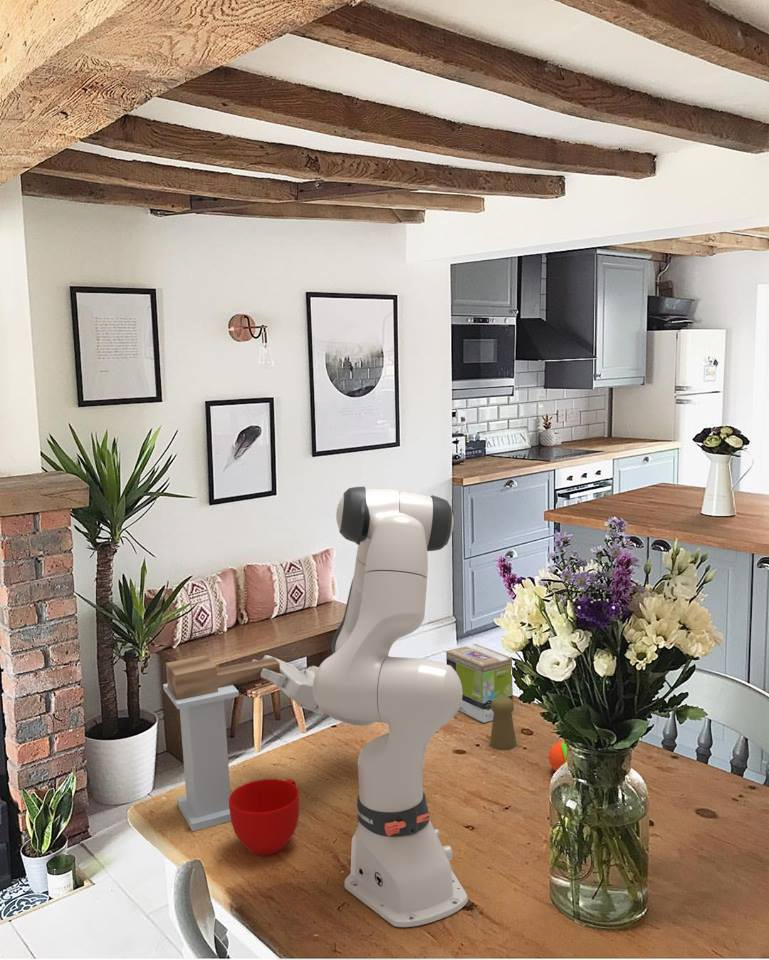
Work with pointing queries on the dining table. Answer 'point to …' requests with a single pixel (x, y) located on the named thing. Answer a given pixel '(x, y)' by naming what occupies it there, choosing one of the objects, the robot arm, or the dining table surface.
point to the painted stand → (205, 757)
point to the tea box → (481, 678)
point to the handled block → (211, 675)
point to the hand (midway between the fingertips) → (256, 667)
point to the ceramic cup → (265, 814)
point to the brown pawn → (502, 724)
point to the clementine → (558, 755)
